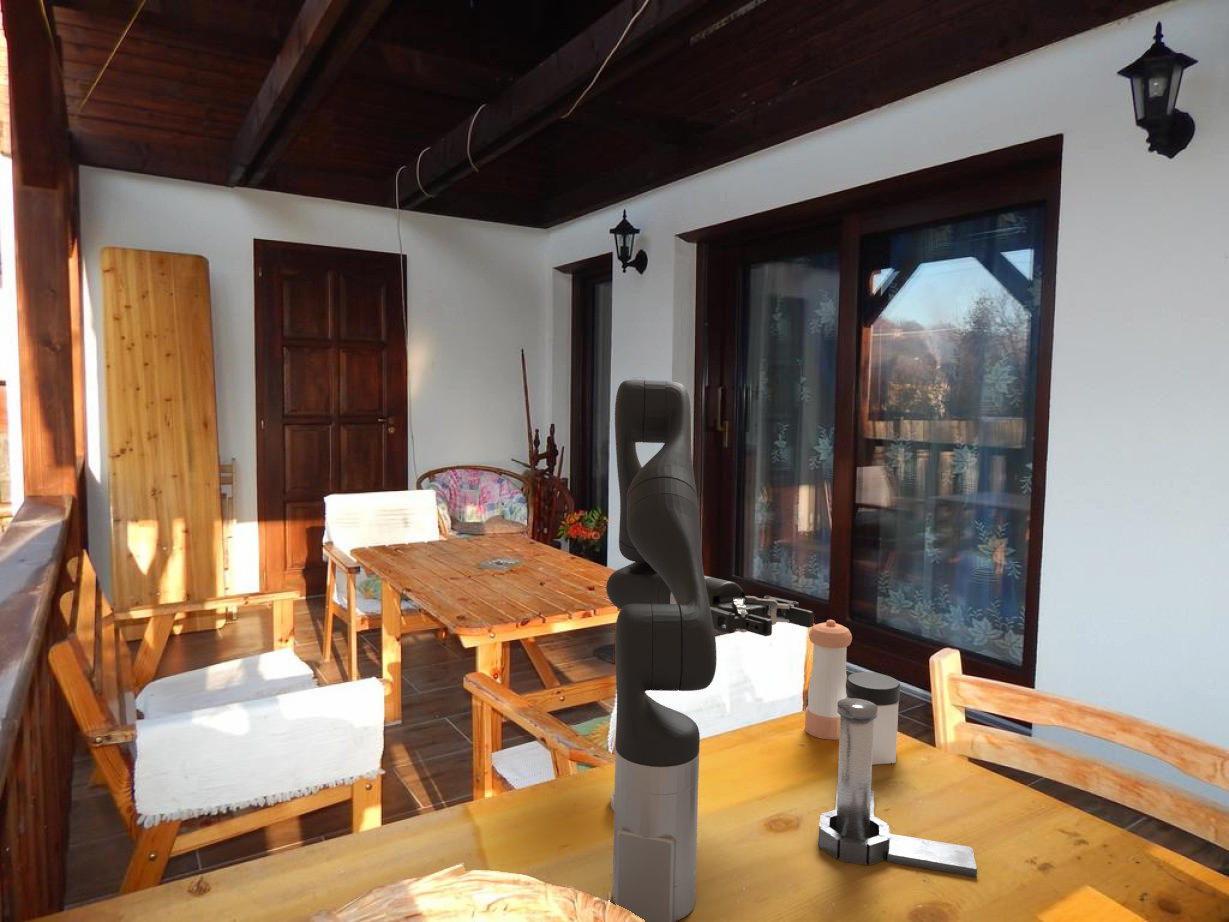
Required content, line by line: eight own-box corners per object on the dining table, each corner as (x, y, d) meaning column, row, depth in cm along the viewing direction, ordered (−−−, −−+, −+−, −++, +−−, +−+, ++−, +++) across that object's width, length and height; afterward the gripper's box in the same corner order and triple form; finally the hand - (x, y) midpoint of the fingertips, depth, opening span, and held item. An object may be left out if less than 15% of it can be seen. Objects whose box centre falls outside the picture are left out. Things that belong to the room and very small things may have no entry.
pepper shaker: (825, 743, 133) (830, 628, 132) (795, 727, 140) (799, 617, 138) (858, 735, 137) (862, 623, 136) (827, 719, 143) (831, 612, 142)
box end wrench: (978, 885, 94) (979, 864, 94) (817, 856, 100) (817, 837, 100) (961, 810, 112) (962, 793, 112) (824, 789, 117) (825, 773, 117)
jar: (845, 739, 135) (848, 668, 134) (897, 747, 132) (900, 674, 132) (840, 761, 127) (843, 685, 126) (896, 770, 124) (899, 693, 123)
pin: (872, 858, 100) (877, 714, 98) (831, 851, 101) (836, 709, 100) (871, 838, 104) (877, 701, 103) (833, 832, 106) (838, 696, 104)
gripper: (672, 582, 118) (756, 602, 105) (740, 572, 126) (826, 590, 114) (671, 633, 118) (754, 660, 105) (739, 620, 127) (824, 643, 114)
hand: (791, 624), depth 109 cm, fingers open, 8 cm apart
